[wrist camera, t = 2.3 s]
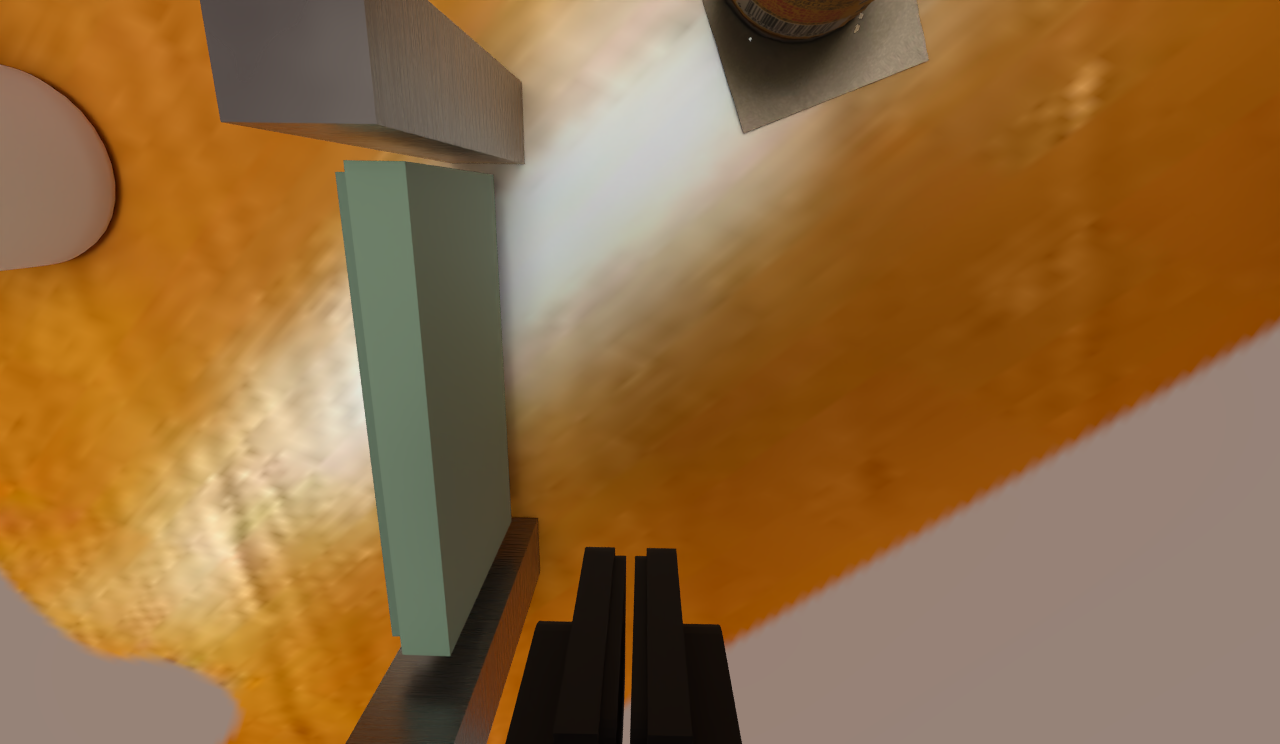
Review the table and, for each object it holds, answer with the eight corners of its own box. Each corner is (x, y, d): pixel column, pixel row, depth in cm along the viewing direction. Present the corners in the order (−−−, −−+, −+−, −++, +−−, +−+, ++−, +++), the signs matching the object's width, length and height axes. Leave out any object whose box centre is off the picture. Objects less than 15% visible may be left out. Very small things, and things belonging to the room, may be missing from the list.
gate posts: (521, 81, 23) (356, -61, 10) (539, 572, 29) (451, 854, 16) (444, 81, 23) (189, -62, 10) (479, 570, 29) (346, 849, 17)
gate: (511, 521, 26) (450, 656, 18) (466, 520, 26) (386, 654, 18) (493, 174, 22) (404, 161, 14) (439, 174, 22) (322, 159, 14)
